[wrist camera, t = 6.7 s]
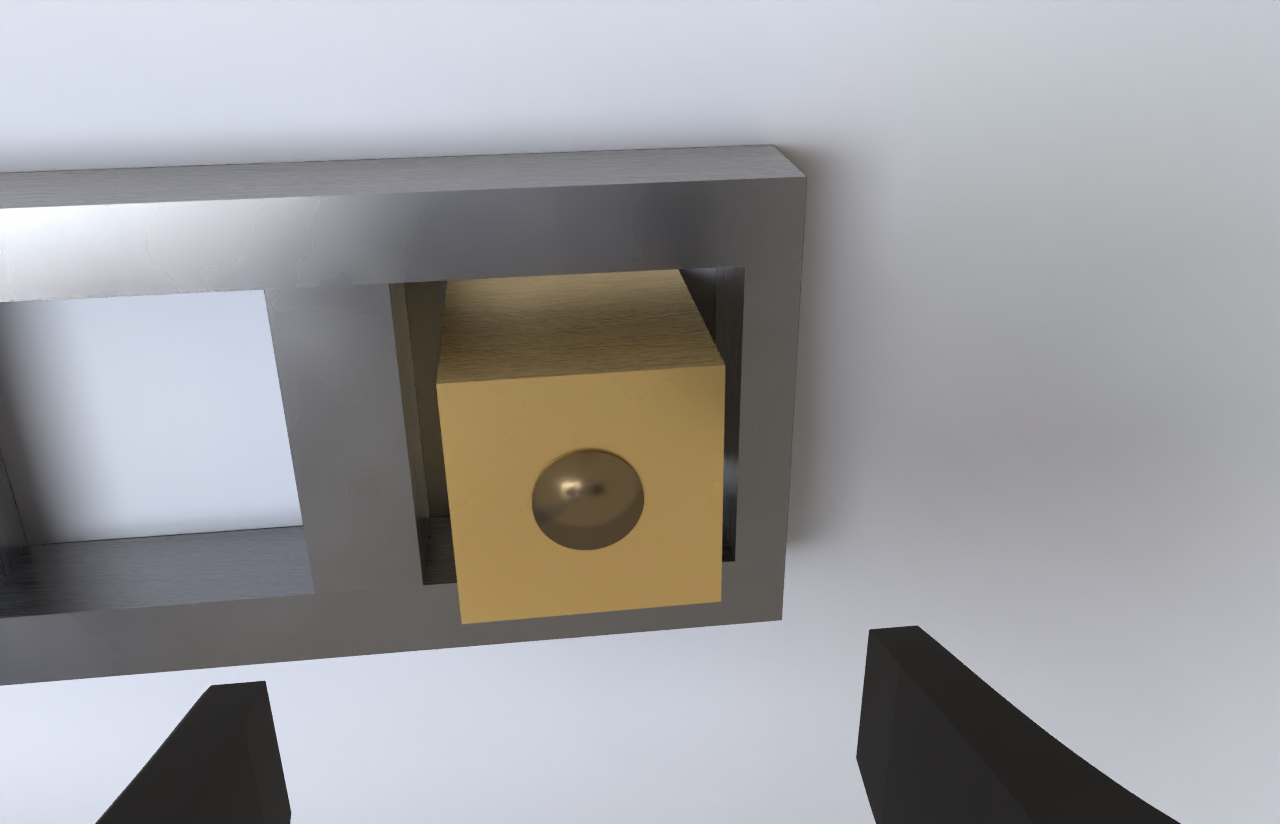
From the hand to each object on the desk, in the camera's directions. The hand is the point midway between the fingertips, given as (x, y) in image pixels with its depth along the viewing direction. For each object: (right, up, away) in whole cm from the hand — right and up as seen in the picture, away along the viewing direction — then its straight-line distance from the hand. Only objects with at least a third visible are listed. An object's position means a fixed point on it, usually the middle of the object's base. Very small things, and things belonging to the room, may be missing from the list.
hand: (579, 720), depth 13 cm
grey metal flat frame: (-5, +4, +8) cm, 11 cm away
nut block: (-1, +4, +9) cm, 10 cm away
